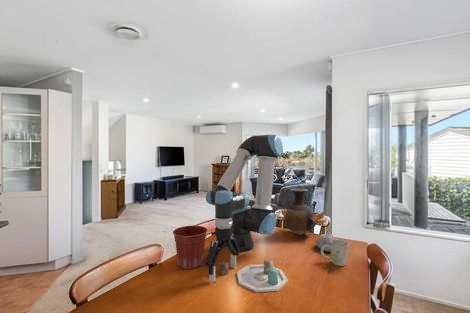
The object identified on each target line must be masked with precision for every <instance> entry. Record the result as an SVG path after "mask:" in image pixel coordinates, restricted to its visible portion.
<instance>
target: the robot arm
mask: <svg viewBox="0 0 470 313" xmlns="http://www.w3.org/2000/svg"><path fill="white" fill-rule="evenodd" d="M283 147H284V146H283V141H282V139H281V137H280V136H279V135H278V134H261V135H252V136H250V137H247V138H246V139H245V140H243V142H242V143H241V144H240V145H239V146H238V147H237V150H236V153H235V154H236V155H234V158H233V159H232V161H231V162H230V163H229V166H228V167H227V168H226V170H225V172H224V174H222V176H221V178H220V180H219V181H218V183H217V185H216V186H215V188H214V189H209V190H208V191H207V192H206V194H205V201H206V202H207V203H208V204H209V205H212V206H214V207H215V208H214V209H215V211H214V212H215V215H214V236H215V238H216V239H215V241H214V240H211V241H210V245H209V248H208V253H207V256H206V259H205V263H204V266H205V267H208V276H209V277H208V278H209V282H211V283H213V284H214V283H216V266H215V264H216V262H217V260H218V258H219V256H220V254H221V252H222V251H223V250H225V249H228V250H229V252H230V253H231V254H230V267H231V268H233V269H236V268H237V258H238V257H237V256H239V254H240V252H249V251H251V250H252V249H254V245H255V244H254V240H253V236H252V233H257V234H260V235H266V236H268V235H270V234H272V233H273V231H275V229H276V226H277V222H278V219H277V215H276V213H274V208H273V207H272V206H271V205H272V197H273V196H272V195H273V194H272V193H273V185H274V175H275V164H276V163H275V162H277V161H278V159H279V156H281V155H282V154H283V150H284V148H283ZM255 156H256V158H257V160H258V170H257V171H258V172H257V179H256V180H257V181H256V191H255V200H254V204H253V205H252V206H251V205H249V203H250V197H249V195H248V193H246V192H245V191H243V192H241V191H239V192H234V191H231V190H232V189H233V187H234V185H235V184H236V182H237V180H238V179H239V176H240V175H241V173H242V171H243V170H244V168H245V166H246V165H247V163H248V162H249V161H251V159H252V158H253V157H255Z"/></svg>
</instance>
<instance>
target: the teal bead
mask: <svg viewBox="0 0 470 313" xmlns="http://www.w3.org/2000/svg"><path fill="white" fill-rule="evenodd" d="M276 268H277V267H275V268H269V269H268V283H269V284H270V285H277V284H278V270H277V269H276Z"/></svg>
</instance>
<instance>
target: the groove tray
mask: <svg viewBox="0 0 470 313" xmlns="http://www.w3.org/2000/svg"><path fill="white" fill-rule="evenodd" d="M273 268H276V269H277V270H278V284H277V285H270V284H269V283H268V275H267V274H265V273H264V263H263V264H248V265H246V266H244V267H243V268H241V269H240V270H238V271H236V277H237V282H238V285H239V286H242V287H244V288H246V289H248V290H251V291H252V292H255V293H266V292H267V293H268V292H278V291H280V290H281V289H282V288H283V287H284V285H286V284H287V283H288V282H289V279H288V278H287V276H286V274H285V273H284V271H283V269H280V268H278V267H275V266H273Z"/></svg>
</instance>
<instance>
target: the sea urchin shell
mask: <svg viewBox="0 0 470 313" xmlns="http://www.w3.org/2000/svg"><path fill="white" fill-rule="evenodd" d="M331 240H339V239H338V238H337V236H334V235H333V234H331V233H323V234H320V235H319V236H318V237H317V238H316V240H315V245H316V247H317V248H318V249H319V250H321V248H322V247H323V246H324V245H330V241H331ZM323 252H329V253H331V248H328V247H326V248H325V249H324V250H323Z"/></svg>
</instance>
